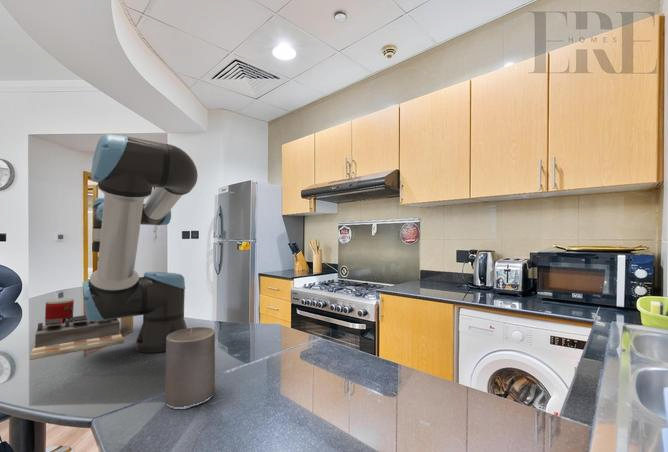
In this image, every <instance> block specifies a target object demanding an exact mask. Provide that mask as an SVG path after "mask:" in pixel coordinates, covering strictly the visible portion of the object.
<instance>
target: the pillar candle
mask: <svg viewBox="0 0 668 452" xmlns="http://www.w3.org/2000/svg"><path fill="white" fill-rule="evenodd" d="M215 335H216V331H215V329H214V328H210V327H205V326H204V327H201V326H200V327H199V326H198V327H197V326H196V327H187V329H182V330H178V331H175V332H172V333H170V334H169V335H167V337H166V351H165V391H164V393H165V396H164V398H165V399H164V400H165V401H164V403H165V402H166V404H168V405H170V406H173V407H184V406H190V405H193V404H197V403H200V402H203V401H205V400H206V399H208V398H209V397H211V396H212V395H213V393H214V394H215V391H214V390H216V388H215V387H216V385H215V384H216V379H215V378H216V377H215V376H216V374H215V373H216V368H215V367H216V359H215V357H216V349H215V348H216V347H215V346H216V344H215V343H216V341H215V340H216V338H215V337H216V336H215ZM166 404H165V405H166Z"/></svg>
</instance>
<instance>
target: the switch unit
mask: <svg viewBox="0 0 668 452" xmlns="http://www.w3.org/2000/svg"><path fill="white" fill-rule="evenodd" d="M118 319H119V318H117V319H112V322H107V323H100V324H98V321H89V320H88V319H87V320H84V321H76V322H70V323H69V319H67V320H65V323H63V324H55V325H48V326H45V325H43V322H38V324H37V328H36V333H35V335H34V337H35V339H34V342H33V346H32V350H31V352H30V357H29V358H30V360H34V359H35V358H36V359H40V358H45V357H46V356H47V357H51V356H52V357H53V356H58V355H62V354H69V353H73V352H79V351H80V352H81V351H84V350H85V351H86V350H89V349H95V348H96V349H97V348H102V347H106V346H107V347H108V346H112V345H118V344H122V343H123V344H124V342H125V338H124V336H123V335H122V333H121V331H120V326H121V325H120V321H119V320H118ZM36 359H35V360H36Z"/></svg>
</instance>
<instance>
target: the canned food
mask: <svg viewBox="0 0 668 452" xmlns="http://www.w3.org/2000/svg"><path fill="white" fill-rule="evenodd" d="M74 302H75V301H74V298H69V297H67V298H55V299H49V300H46V301H45V308H44V309H45V310H44V311H45V312H44V314H45V316H44V326H48V325H46V320H52V319H60V318H62V323H61V324H63V323H65V320H67V319H69V323H70V322H73V317H74V304H75V303H74ZM54 325H55V324H54Z"/></svg>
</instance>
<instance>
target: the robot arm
mask: <svg viewBox="0 0 668 452" xmlns="http://www.w3.org/2000/svg"><path fill="white" fill-rule="evenodd" d="M90 179H91V180H92V181H94V182H97V188H98V190H100V192H101V193H103V194H104V195H103V196H104V197H96V198H94V200H93V206H92V209H93V211H92V213H93V214H92V216H93V217H92V220H93V222H92V234H91V235H92V236H91V239H92V241H93V242H92V243H91V246H92V247H91V251H92V252H93V253H98V257H97V269H96V270H95V271H93V272H92V273H91V274H90V276H89V279H87V280H84V281H83V282H82V293H83V295H82V296H83V303H84V305H83V306H84V312H85V315H86V318H87V320H89V321H107V320H110V319H123V318H129V317H137V316H142V318H143V319H142V325H141V327H140V330H139V333H138V334H137V337H136V340H135V350H136V351H137V352H140V353H146V354H147V353H148V354H150V353H152V354H153V353H154V354H155V353H164V352H166V337H167V335H169V334H170V333H172V332H175V331H178V330H182V329H187V328H188V326H187V324H186V321H185V320H186V319H185V297H186V296H185V291H186V285H185V284H186V283H185V277H184V276H183V275H182V274H181V273H175V272H165V271H164V272H163V271H145V272H144V274H143V276H140V275H139V273H138V272H137V271H136V270H135V266H136V258H137V251H138V246H139V245H138V243H139V237H140V232H141V231H140V230H141V225H146V226H147V225H149V226H153V225H154V226H167V225H169V224H170V222H171V219H172V209H173V208H174V206H175V205H176V204H177V203H178V201H179V200H180V199H181V198H182V196H184V195H187V194H188V193H190V192H191V191H192V190H193V189H194V187H195V186H196V184H197V181H198V169H197V166H196V164H195V162H194V161H193V159H192V157H191V156H190V155H189V154H188V153H187V152H185V151H184V150H183V149H182V148H179V147H178V146H176V145H173V144H169V143H163V142H156V141H152V140H146V139H142V138H136V137H132V136H129V135H128V136H127V135H120V134H119V135H118V134H111V133H105V134H103V135H102V136H100V137H99V139H98V140H97V144H96V147H95V150H94V153H93V157H92V165H91V170H90ZM153 187H154V189H153ZM146 198H147V200H146V202H145V199H146ZM144 202H145V203H144Z"/></svg>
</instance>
